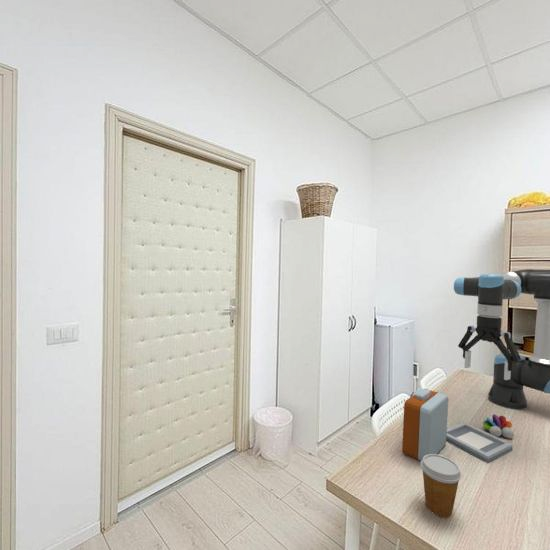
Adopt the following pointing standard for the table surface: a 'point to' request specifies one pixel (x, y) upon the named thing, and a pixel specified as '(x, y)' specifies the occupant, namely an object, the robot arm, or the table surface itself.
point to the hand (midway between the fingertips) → (486, 373)
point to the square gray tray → (477, 442)
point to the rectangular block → (424, 423)
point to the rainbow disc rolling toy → (498, 426)
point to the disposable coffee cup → (440, 483)
